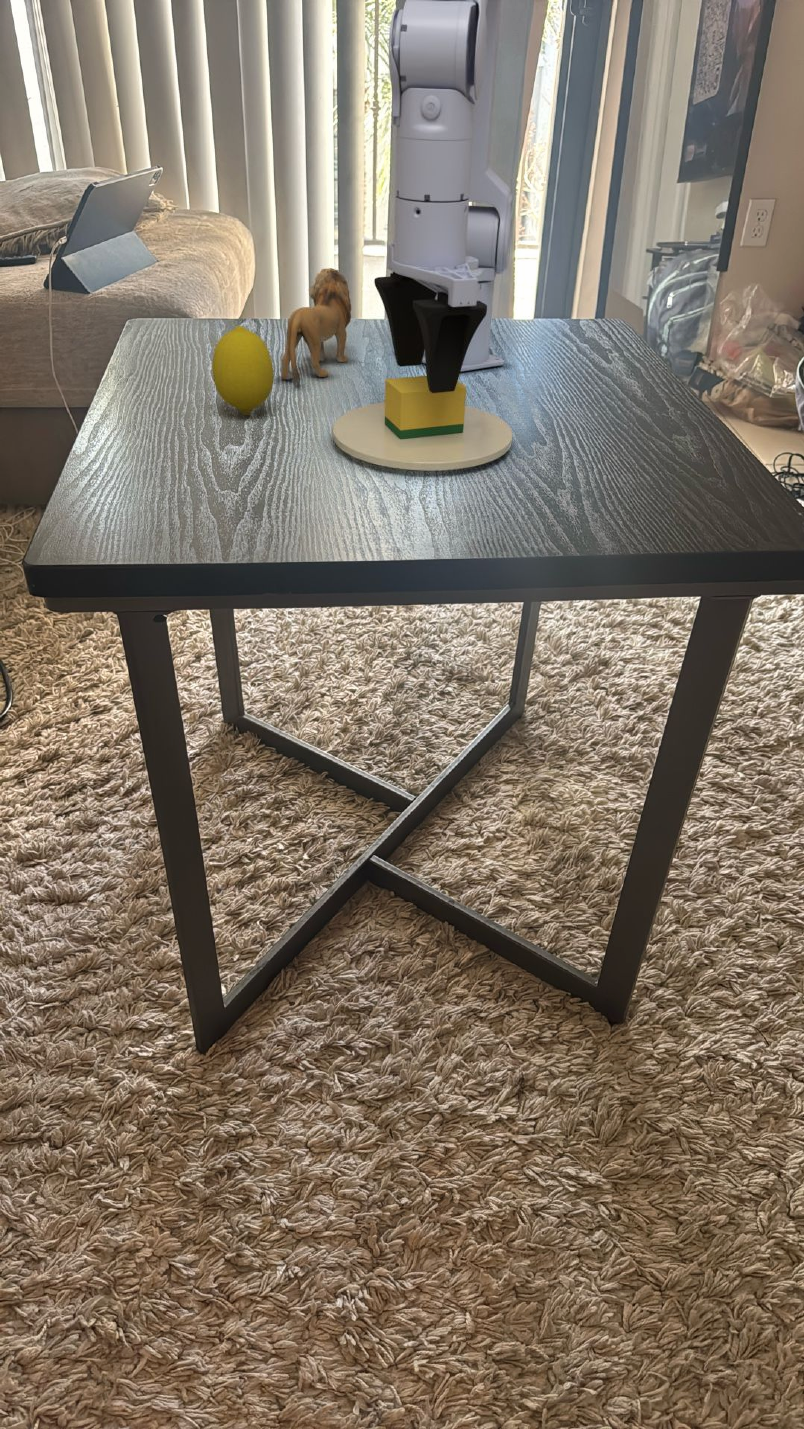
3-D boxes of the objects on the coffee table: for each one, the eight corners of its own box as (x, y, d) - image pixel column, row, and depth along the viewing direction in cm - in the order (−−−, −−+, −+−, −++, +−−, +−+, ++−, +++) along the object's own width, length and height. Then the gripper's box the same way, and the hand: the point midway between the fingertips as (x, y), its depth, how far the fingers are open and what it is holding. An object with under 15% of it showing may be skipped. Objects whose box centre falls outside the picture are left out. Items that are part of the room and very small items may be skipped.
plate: (302, 429, 84) (301, 415, 83) (447, 404, 91) (448, 391, 90) (390, 491, 73) (390, 475, 72) (547, 457, 80) (549, 443, 79)
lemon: (234, 402, 89) (226, 315, 85) (285, 410, 88) (280, 322, 83) (206, 419, 85) (196, 329, 80) (259, 428, 84) (253, 336, 79)
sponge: (384, 424, 82) (385, 379, 79) (445, 418, 83) (448, 373, 81) (400, 439, 79) (401, 393, 76) (463, 432, 80) (466, 387, 78)
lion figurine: (313, 348, 105) (311, 263, 100) (358, 352, 105) (358, 266, 99) (273, 386, 94) (268, 291, 88) (323, 390, 93) (321, 296, 88)
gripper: (521, 210, 66) (503, 399, 74) (443, 183, 77) (435, 351, 85) (430, 213, 64) (423, 407, 72) (364, 185, 75) (364, 356, 83)
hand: (424, 377), depth 78 cm, fingers open, 7 cm apart
